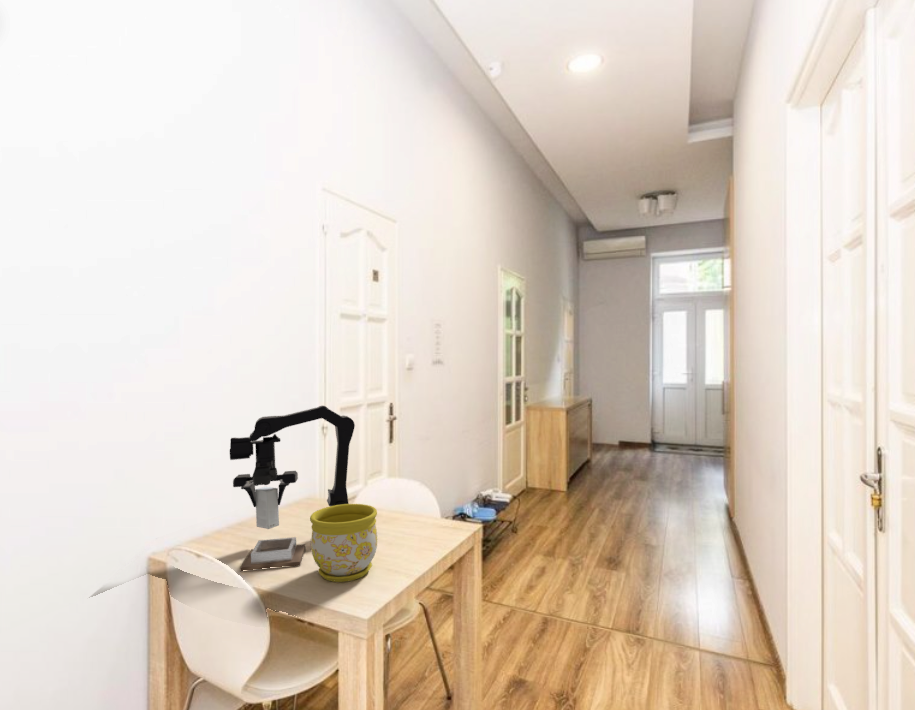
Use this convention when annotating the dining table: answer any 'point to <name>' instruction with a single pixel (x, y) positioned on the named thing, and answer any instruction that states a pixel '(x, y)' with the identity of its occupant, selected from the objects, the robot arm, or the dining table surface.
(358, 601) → the dining table surface
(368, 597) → the dining table surface
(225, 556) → the dining table surface
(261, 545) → the light gray square frame
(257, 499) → the skincare box
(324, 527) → the flowerpot
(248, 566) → the square wooden tray
